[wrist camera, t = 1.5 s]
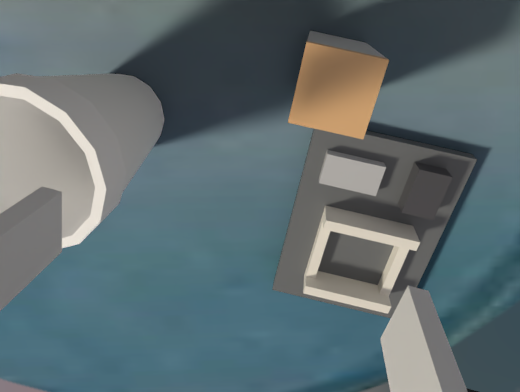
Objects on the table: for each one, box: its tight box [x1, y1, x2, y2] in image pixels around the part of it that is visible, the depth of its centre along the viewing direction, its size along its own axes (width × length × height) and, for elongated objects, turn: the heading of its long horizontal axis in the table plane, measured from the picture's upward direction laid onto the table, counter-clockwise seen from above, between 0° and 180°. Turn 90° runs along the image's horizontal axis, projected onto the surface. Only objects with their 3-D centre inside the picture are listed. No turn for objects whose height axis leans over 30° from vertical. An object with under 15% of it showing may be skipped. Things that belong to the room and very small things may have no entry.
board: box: [272, 129, 477, 318], centre depth 32 cm, size 16×12×4 cm
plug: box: [288, 31, 389, 139], centre depth 24 cm, size 4×4×10 cm
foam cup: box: [0, 73, 165, 248], centre depth 26 cm, size 10×9×13 cm
